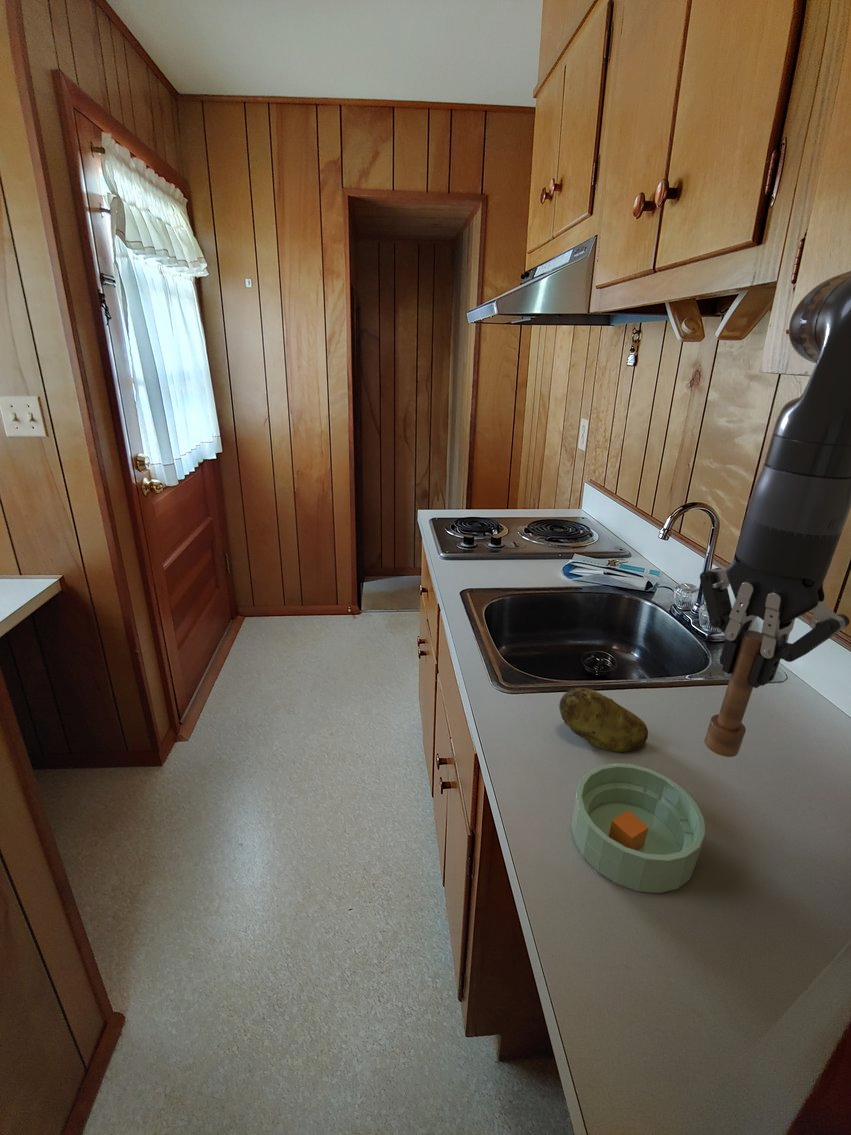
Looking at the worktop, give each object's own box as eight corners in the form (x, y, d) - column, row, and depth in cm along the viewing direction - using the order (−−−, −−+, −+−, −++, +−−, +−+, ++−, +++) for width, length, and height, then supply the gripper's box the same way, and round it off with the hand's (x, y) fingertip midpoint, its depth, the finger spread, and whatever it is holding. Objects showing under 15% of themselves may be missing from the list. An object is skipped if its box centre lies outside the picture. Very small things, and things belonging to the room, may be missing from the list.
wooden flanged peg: (715, 731, 63) (749, 624, 57) (744, 750, 60) (783, 639, 54) (697, 742, 61) (730, 632, 55) (727, 761, 58) (764, 648, 53)
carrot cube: (624, 827, 69) (628, 810, 68) (644, 845, 67) (648, 827, 66) (608, 838, 68) (611, 820, 67) (627, 856, 65) (632, 838, 64)
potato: (633, 774, 79) (643, 729, 76) (549, 738, 85) (555, 696, 82) (648, 742, 85) (658, 699, 82) (568, 711, 92) (574, 670, 88)
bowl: (622, 782, 77) (629, 749, 75) (719, 860, 66) (731, 824, 64) (546, 826, 70) (552, 790, 68) (640, 921, 59) (650, 883, 57)
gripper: (902, 535, 47) (833, 702, 53) (742, 493, 57) (702, 638, 64) (862, 550, 43) (794, 728, 50) (699, 502, 53) (662, 654, 60)
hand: (743, 676), depth 57 cm, fingers closed on wooden flanged peg, 2 cm apart
